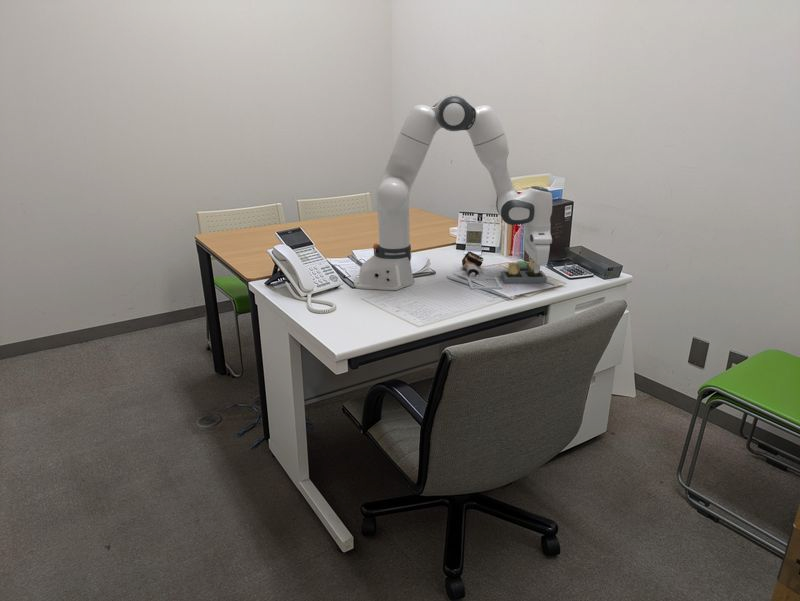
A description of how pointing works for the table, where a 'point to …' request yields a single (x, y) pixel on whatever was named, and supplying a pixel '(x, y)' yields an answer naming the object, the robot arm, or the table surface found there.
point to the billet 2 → (531, 265)
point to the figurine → (472, 264)
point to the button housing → (525, 268)
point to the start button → (522, 264)
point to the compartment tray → (523, 278)
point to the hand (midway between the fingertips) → (534, 270)
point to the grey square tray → (485, 279)
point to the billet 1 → (513, 269)
